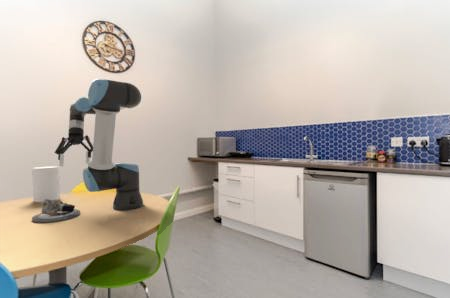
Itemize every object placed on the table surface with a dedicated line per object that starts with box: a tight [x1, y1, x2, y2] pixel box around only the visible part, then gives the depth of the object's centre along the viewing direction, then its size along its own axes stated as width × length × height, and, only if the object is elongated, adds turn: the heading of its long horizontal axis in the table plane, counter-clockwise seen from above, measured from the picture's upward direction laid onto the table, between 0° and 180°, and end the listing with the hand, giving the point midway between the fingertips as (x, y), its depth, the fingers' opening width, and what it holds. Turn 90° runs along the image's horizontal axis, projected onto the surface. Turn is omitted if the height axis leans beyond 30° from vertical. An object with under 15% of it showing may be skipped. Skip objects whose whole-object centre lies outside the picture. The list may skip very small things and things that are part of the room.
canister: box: [31, 165, 61, 203], centre depth 159 cm, size 14×14×20 cm
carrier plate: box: [31, 208, 81, 224], centre depth 122 cm, size 19×19×1 cm
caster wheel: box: [40, 199, 76, 216], centre depth 124 cm, size 7×11×10 cm
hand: (74, 164), depth 143 cm, fingers open, 13 cm apart
